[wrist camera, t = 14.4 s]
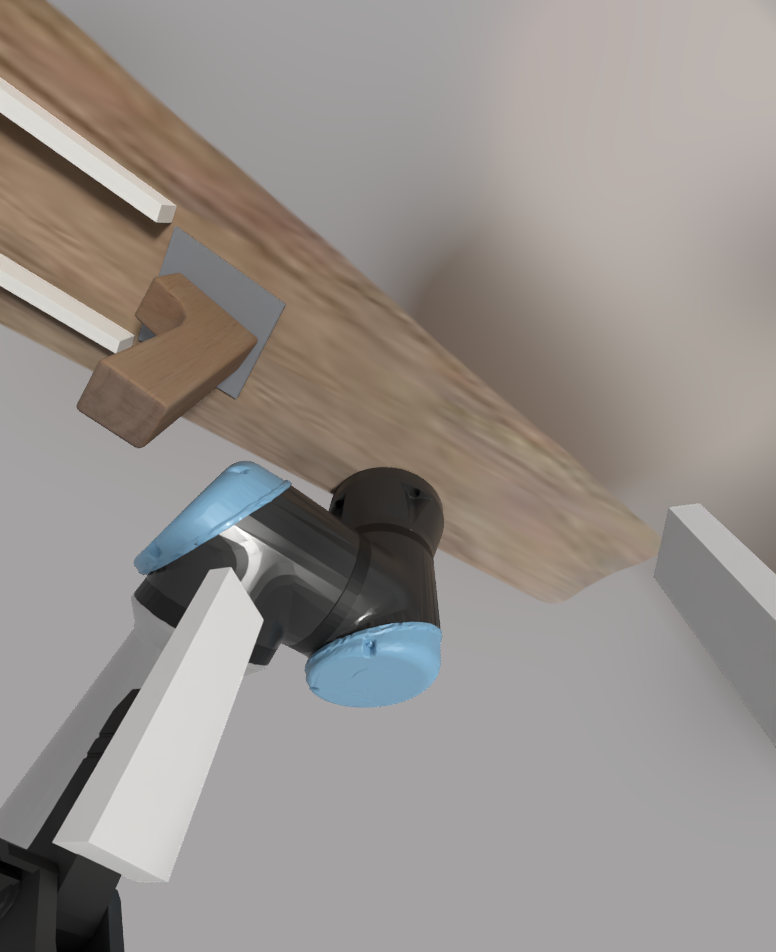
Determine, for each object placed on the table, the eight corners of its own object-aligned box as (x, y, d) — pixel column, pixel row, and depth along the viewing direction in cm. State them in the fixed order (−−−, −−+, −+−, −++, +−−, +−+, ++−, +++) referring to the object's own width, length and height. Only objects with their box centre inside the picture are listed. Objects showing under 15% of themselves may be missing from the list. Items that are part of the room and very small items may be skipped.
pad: (286, 304, 37) (285, 305, 37) (237, 397, 43) (236, 398, 43) (177, 226, 34) (175, 226, 34) (140, 338, 40) (137, 339, 39)
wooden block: (159, 307, 38) (-6, 359, 23) (180, 270, 36) (15, 299, 21) (237, 370, 41) (138, 452, 26) (260, 338, 39) (168, 408, 24)
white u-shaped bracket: (176, 206, 33) (154, 204, 30) (131, 347, 40) (109, 356, 37) (-83, 17, 28) (-141, -9, 25) (-85, 218, 35) (-130, 217, 32)
